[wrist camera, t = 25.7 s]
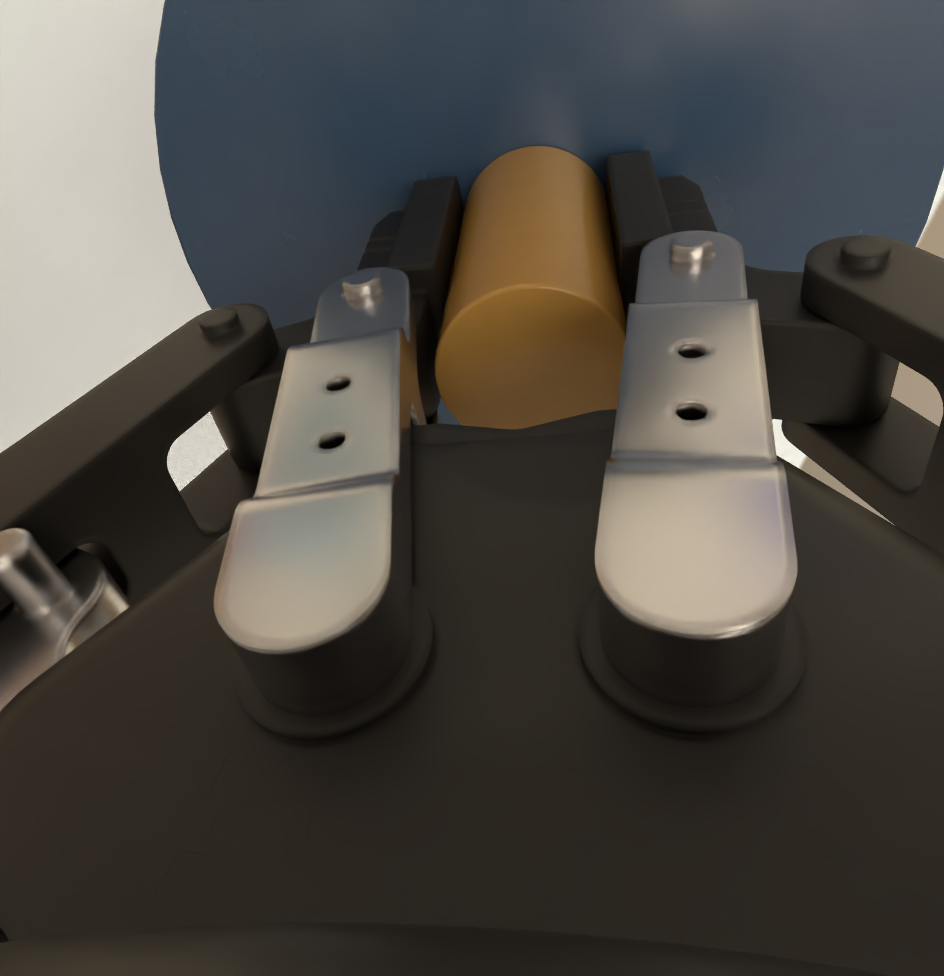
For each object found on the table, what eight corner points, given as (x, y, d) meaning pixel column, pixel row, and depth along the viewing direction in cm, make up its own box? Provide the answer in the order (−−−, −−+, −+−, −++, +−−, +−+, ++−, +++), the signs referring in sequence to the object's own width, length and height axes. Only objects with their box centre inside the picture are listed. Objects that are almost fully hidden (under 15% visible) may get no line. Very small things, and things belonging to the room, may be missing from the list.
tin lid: (305, 482, 20) (234, 684, 15) (28, -207, 11) (-337, -213, 6) (851, 442, 18) (956, 663, 13) (1052, -449, 9) (1582, -709, 4)
